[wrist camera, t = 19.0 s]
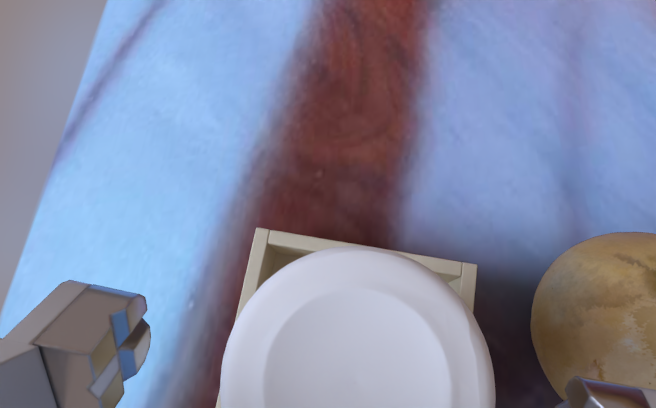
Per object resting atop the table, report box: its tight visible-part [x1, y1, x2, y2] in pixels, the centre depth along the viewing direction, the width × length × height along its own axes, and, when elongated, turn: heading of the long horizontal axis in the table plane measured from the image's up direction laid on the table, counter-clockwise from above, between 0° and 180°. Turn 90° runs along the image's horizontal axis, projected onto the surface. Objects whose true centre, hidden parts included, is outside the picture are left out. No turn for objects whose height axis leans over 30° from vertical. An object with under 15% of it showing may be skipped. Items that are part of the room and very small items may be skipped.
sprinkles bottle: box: [220, 246, 496, 408], centre depth 14 cm, size 5×5×13 cm
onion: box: [530, 232, 656, 401], centre depth 17 cm, size 8×8×7 cm
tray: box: [216, 228, 478, 408], centre depth 19 cm, size 9×9×3 cm
